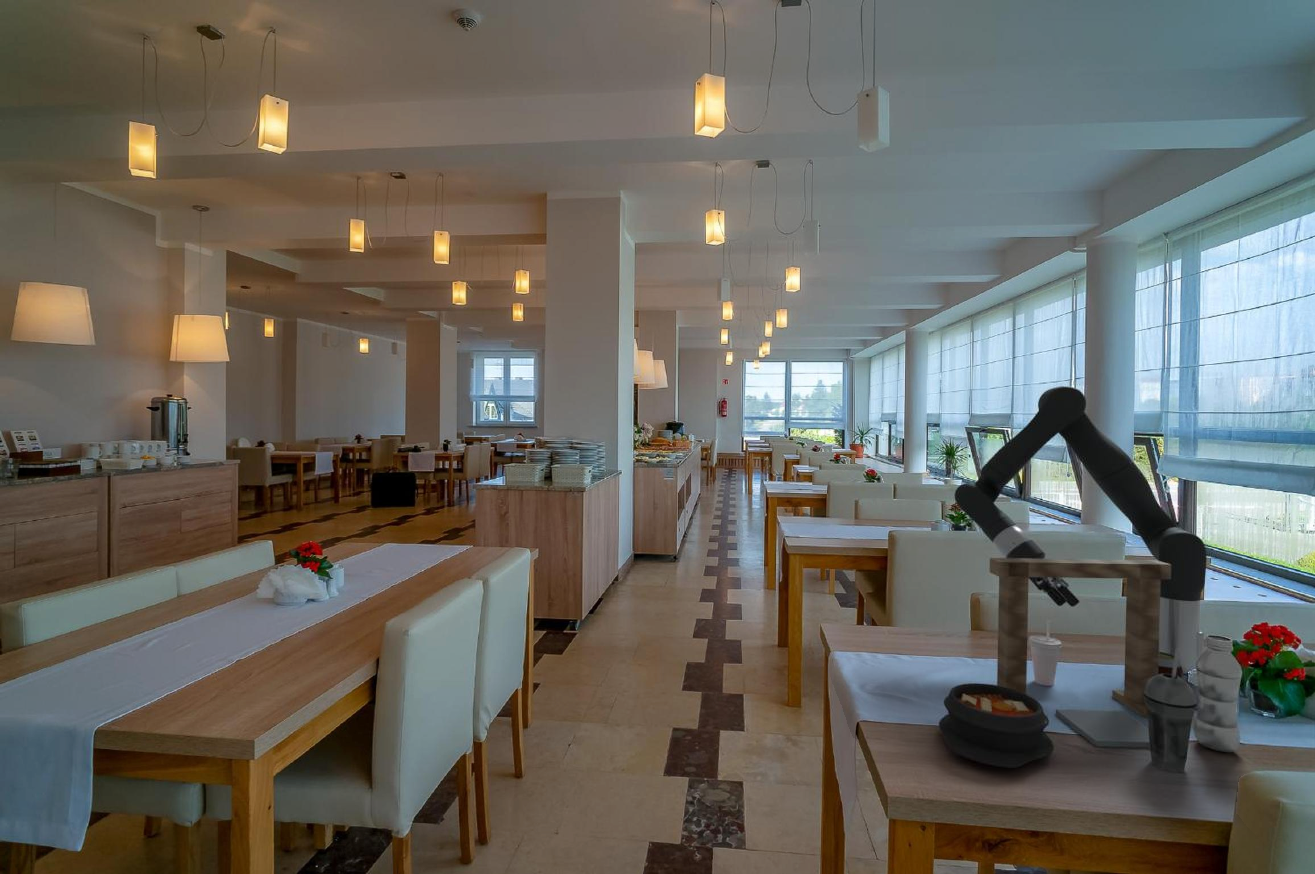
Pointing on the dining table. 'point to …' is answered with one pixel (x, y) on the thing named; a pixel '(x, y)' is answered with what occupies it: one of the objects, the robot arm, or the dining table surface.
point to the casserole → (995, 725)
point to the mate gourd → (1168, 664)
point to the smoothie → (1044, 657)
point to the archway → (1137, 572)
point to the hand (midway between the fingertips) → (1069, 604)
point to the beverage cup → (1169, 719)
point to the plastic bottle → (1218, 695)
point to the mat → (1107, 727)
